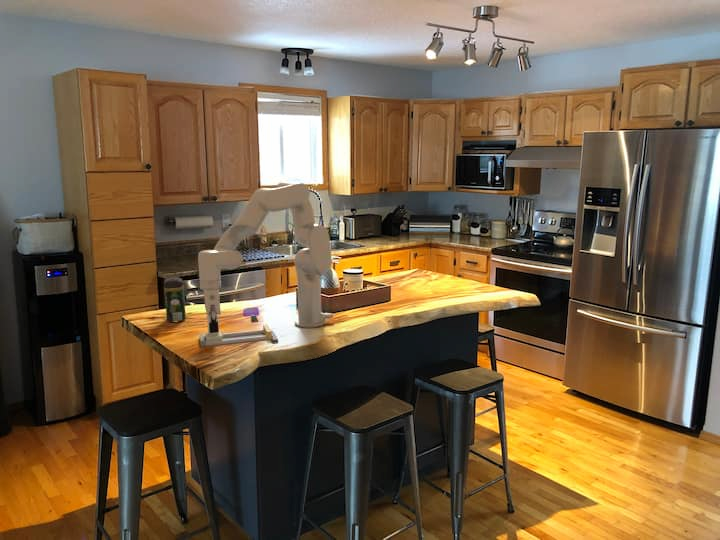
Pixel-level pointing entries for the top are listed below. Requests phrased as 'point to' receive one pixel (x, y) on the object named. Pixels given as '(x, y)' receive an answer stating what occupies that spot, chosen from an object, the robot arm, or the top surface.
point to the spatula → (252, 313)
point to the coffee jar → (174, 299)
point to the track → (241, 337)
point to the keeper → (213, 336)
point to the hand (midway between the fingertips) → (213, 328)
